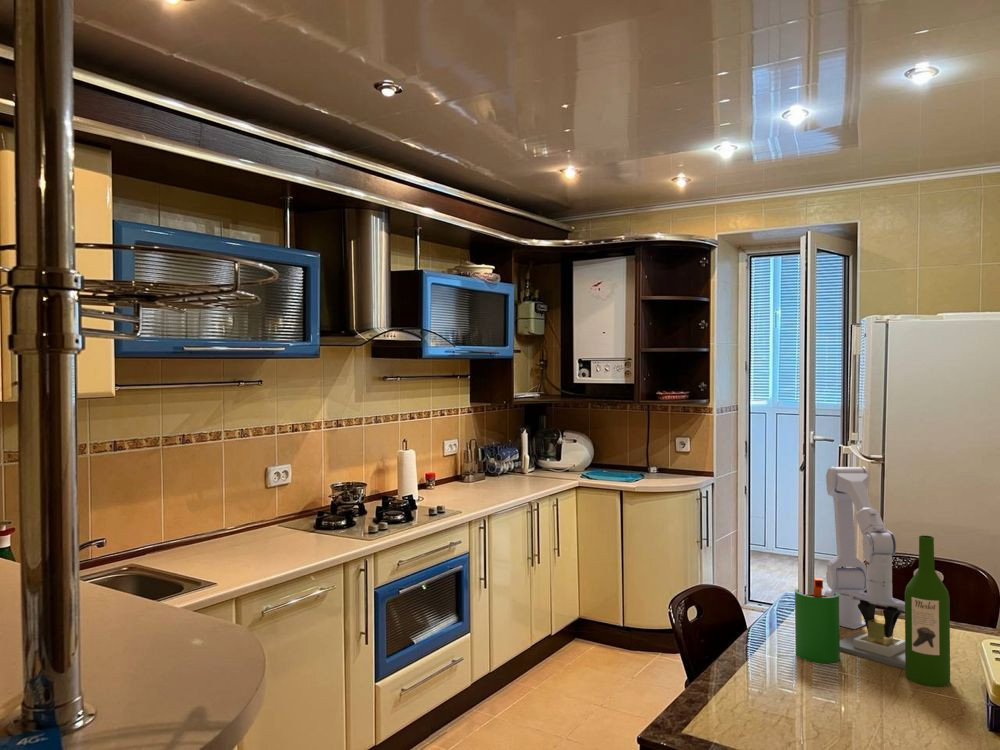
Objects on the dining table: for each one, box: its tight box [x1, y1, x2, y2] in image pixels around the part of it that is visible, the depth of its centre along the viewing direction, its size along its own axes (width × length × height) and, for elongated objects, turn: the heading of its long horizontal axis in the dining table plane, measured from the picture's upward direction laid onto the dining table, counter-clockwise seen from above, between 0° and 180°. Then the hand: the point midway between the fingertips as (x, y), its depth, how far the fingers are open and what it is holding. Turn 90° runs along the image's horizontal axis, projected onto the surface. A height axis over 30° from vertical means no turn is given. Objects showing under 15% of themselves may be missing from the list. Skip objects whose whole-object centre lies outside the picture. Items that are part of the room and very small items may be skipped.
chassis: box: [840, 632, 905, 670], centre depth 191 cm, size 18×14×3 cm
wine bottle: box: [904, 535, 951, 688], centre depth 173 cm, size 9×9×32 cm
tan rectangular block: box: [867, 616, 894, 646], centre depth 191 cm, size 4×5×6 cm
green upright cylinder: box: [794, 576, 841, 664], centre depth 188 cm, size 10×9×20 cm
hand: (879, 634), depth 191 cm, fingers closed on tan rectangular block, 4 cm apart
